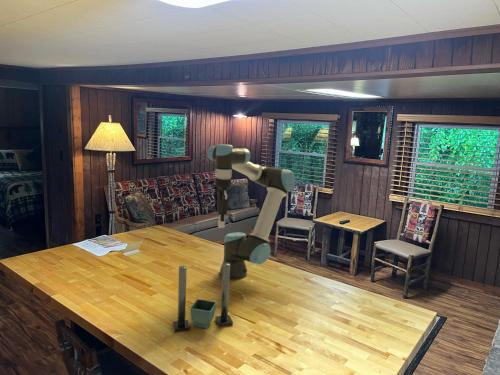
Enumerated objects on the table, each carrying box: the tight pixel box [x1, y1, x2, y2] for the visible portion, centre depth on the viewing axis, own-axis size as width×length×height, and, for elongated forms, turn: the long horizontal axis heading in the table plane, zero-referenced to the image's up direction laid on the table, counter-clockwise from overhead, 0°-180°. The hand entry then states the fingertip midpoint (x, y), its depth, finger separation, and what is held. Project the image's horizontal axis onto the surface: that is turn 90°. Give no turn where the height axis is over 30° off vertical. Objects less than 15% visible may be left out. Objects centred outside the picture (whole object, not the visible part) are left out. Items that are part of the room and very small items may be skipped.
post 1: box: [172, 265, 191, 333], centre depth 156 cm, size 6×6×26 cm
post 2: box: [214, 262, 234, 328], centre depth 162 cm, size 6×6×26 cm
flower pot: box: [189, 298, 217, 329], centre depth 160 cm, size 9×9×9 cm
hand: (221, 227), depth 183 cm, fingers closed
